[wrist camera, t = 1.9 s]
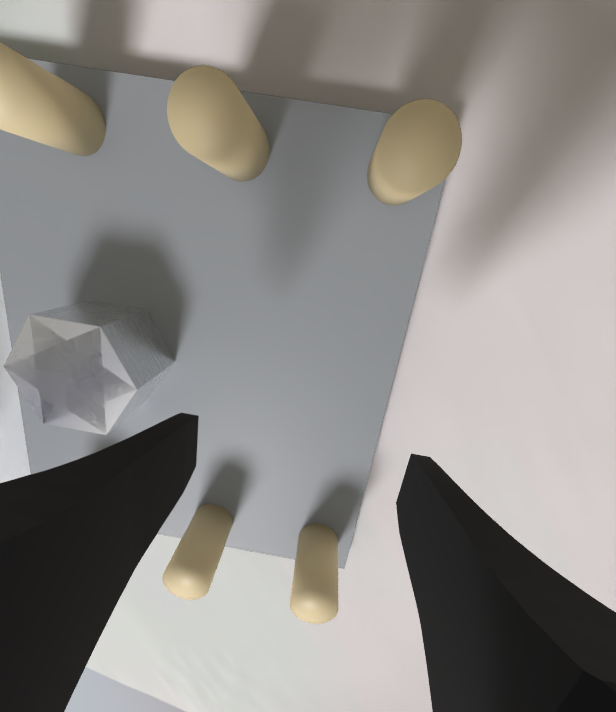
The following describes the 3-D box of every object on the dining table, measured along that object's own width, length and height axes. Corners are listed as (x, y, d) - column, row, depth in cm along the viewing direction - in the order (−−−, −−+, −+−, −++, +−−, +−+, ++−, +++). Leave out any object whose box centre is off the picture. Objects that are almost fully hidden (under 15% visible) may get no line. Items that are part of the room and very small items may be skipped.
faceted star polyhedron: (71, 386, 18) (12, 418, 15) (62, 295, 17) (-6, 308, 13) (174, 404, 18) (138, 440, 15) (176, 314, 16) (135, 332, 13)
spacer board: (49, 499, 22) (-28, 568, 18) (-10, 61, 14) (-178, -27, 10) (344, 554, 22) (346, 640, 17) (451, 132, 14) (510, 75, 9)
